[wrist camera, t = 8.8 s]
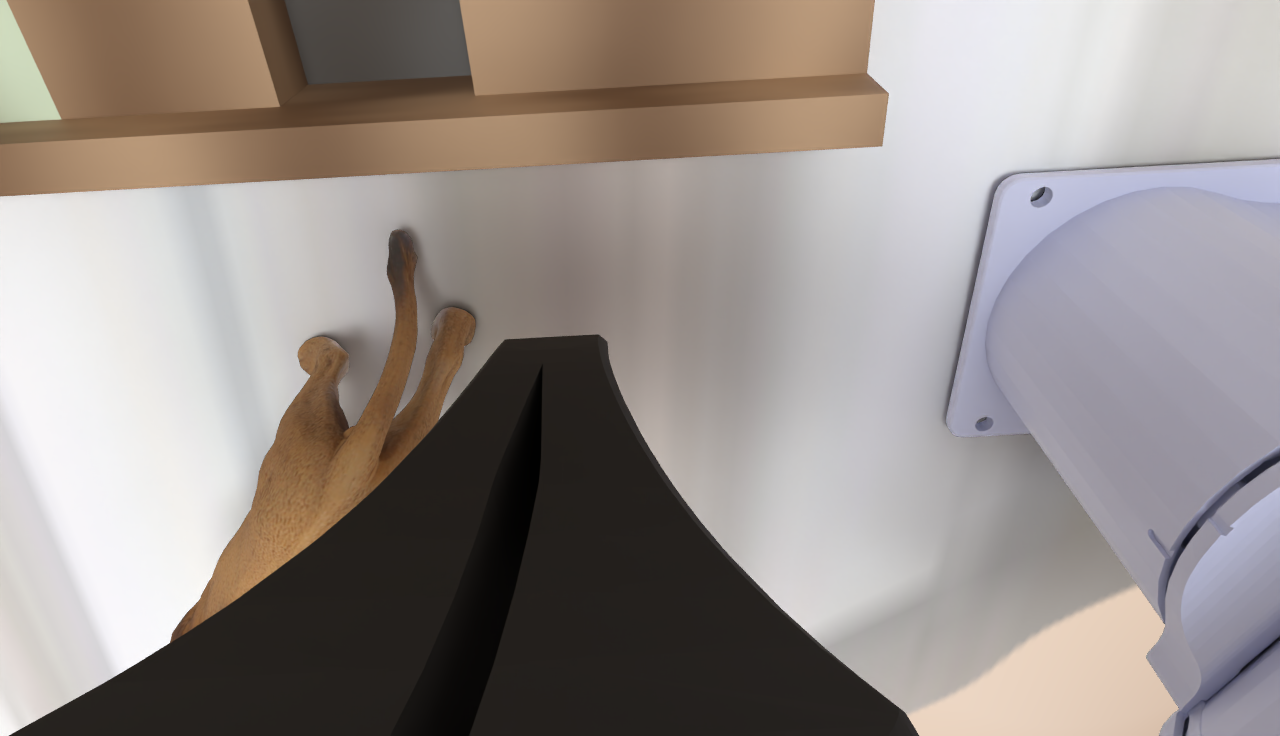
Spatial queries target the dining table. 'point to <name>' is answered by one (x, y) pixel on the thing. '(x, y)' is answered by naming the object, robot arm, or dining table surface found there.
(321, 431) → the lion figurine
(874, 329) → the dining table surface
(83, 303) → the dining table surface
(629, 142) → the walnut lane
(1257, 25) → the dining table surface
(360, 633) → the robot arm
